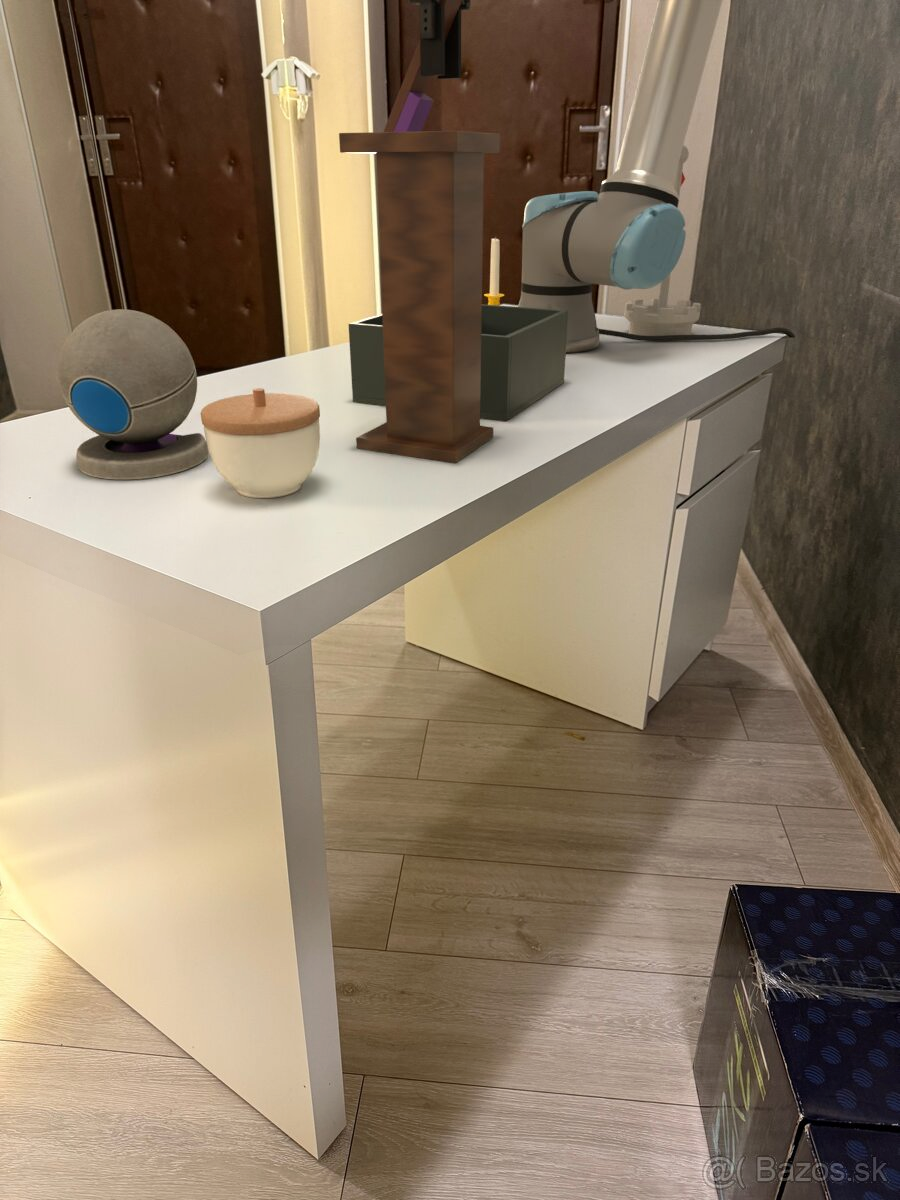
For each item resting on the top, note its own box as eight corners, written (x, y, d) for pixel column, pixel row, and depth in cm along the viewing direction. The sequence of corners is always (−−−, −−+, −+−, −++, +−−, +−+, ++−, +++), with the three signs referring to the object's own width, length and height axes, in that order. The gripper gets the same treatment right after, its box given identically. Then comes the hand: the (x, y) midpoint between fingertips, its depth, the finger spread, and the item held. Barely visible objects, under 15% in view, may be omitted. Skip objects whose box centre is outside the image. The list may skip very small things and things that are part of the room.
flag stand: (685, 343, 141) (711, 143, 127) (612, 337, 147) (629, 144, 133) (704, 331, 152) (730, 144, 138) (635, 325, 157) (653, 145, 143)
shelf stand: (356, 448, 90) (338, 132, 76) (400, 424, 98) (391, 135, 84) (455, 463, 86) (456, 130, 72) (493, 437, 94) (500, 133, 80)
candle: (512, 324, 159) (515, 235, 152) (493, 327, 156) (495, 237, 148) (493, 320, 162) (495, 234, 155) (474, 324, 159) (475, 235, 152)
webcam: (227, 445, 91) (209, 302, 84) (170, 484, 80) (142, 323, 73) (121, 438, 94) (94, 298, 87) (51, 475, 83) (13, 319, 76)
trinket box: (322, 505, 75) (314, 403, 71) (202, 509, 74) (186, 406, 70) (328, 467, 85) (321, 374, 80) (221, 470, 84) (208, 377, 79)
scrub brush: (443, -21, 89) (463, -7, 89) (457, -15, 92) (477, -2, 92) (381, 137, 99) (399, 150, 99) (395, 137, 102) (413, 150, 102)
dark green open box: (427, 368, 125) (426, 300, 120) (564, 383, 117) (568, 310, 112) (352, 401, 108) (348, 323, 103) (506, 421, 100) (509, 337, 95)
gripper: (442, -164, 92) (443, 83, 103) (365, -218, 79) (376, 72, 90) (504, -175, 89) (499, 81, 100) (435, -232, 76) (437, 69, 87)
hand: (441, 76), depth 95 cm, fingers closed on scrub brush, 4 cm apart
